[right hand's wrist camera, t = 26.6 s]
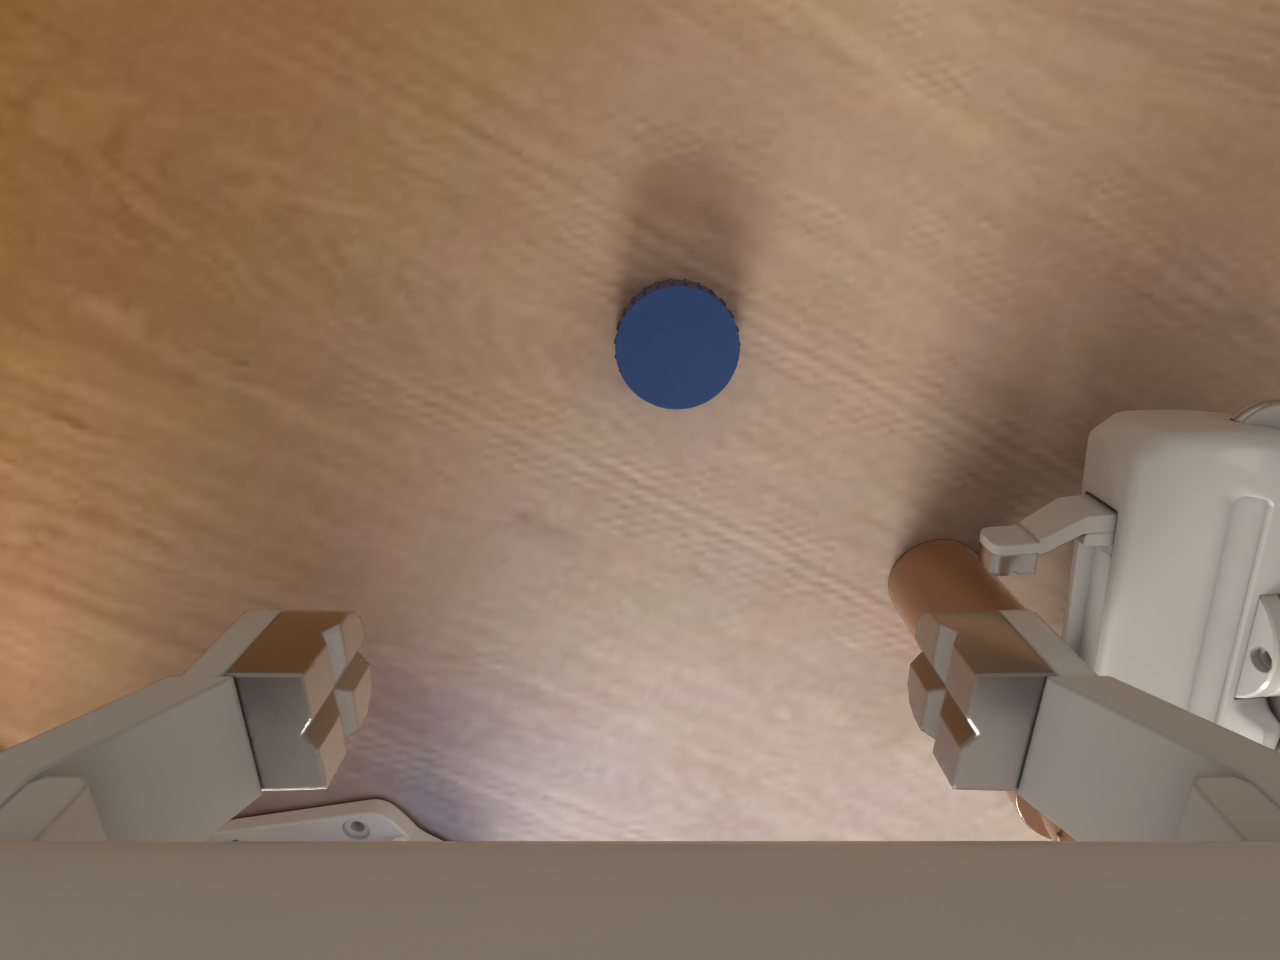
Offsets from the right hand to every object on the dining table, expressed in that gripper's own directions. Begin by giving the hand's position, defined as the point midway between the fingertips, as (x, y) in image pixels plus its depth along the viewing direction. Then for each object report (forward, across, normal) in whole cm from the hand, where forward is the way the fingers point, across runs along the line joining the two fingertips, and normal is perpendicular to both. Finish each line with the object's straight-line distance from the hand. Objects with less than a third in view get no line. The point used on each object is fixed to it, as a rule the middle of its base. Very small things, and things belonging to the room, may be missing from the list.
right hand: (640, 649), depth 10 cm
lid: (+22, +2, 0) cm, 22 cm away
